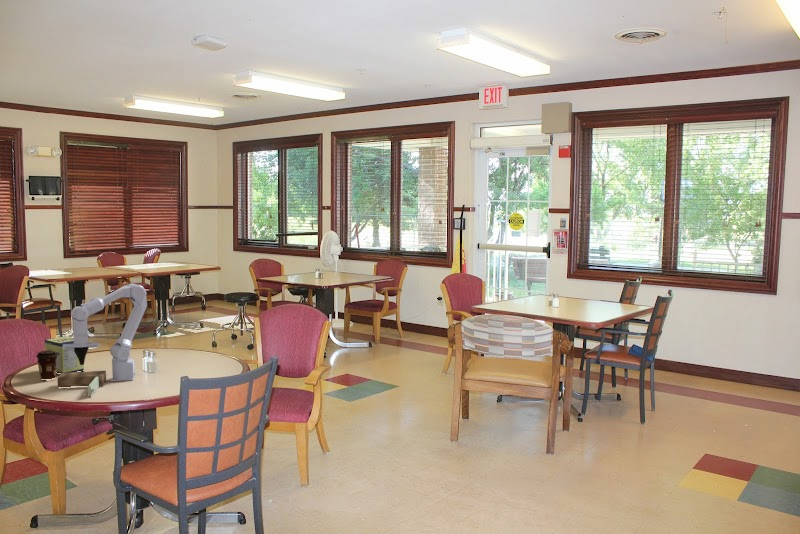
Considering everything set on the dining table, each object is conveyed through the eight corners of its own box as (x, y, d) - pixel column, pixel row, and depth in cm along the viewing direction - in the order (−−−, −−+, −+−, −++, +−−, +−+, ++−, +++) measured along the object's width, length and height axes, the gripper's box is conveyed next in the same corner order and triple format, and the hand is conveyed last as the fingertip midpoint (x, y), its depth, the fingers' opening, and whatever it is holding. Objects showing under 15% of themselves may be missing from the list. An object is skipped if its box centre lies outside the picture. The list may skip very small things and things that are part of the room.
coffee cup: (35, 382, 301) (33, 354, 300) (39, 378, 309) (38, 350, 308) (56, 381, 303) (55, 353, 302) (60, 376, 311) (59, 349, 310)
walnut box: (106, 381, 304) (105, 370, 303) (102, 386, 295) (102, 375, 295) (62, 384, 299) (62, 373, 299) (57, 389, 291) (57, 378, 290)
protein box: (66, 367, 330) (65, 335, 329) (84, 371, 322) (83, 339, 320) (45, 371, 322) (43, 339, 320) (63, 376, 313) (61, 343, 312)
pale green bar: (96, 386, 294) (96, 376, 294) (101, 386, 295) (101, 376, 294) (88, 397, 278) (88, 386, 278) (93, 396, 279) (93, 386, 278)
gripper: (60, 336, 289) (62, 367, 291) (97, 334, 293) (98, 365, 295) (64, 333, 296) (65, 363, 297) (99, 331, 300) (101, 361, 301)
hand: (82, 364), depth 296 cm, fingers closed
